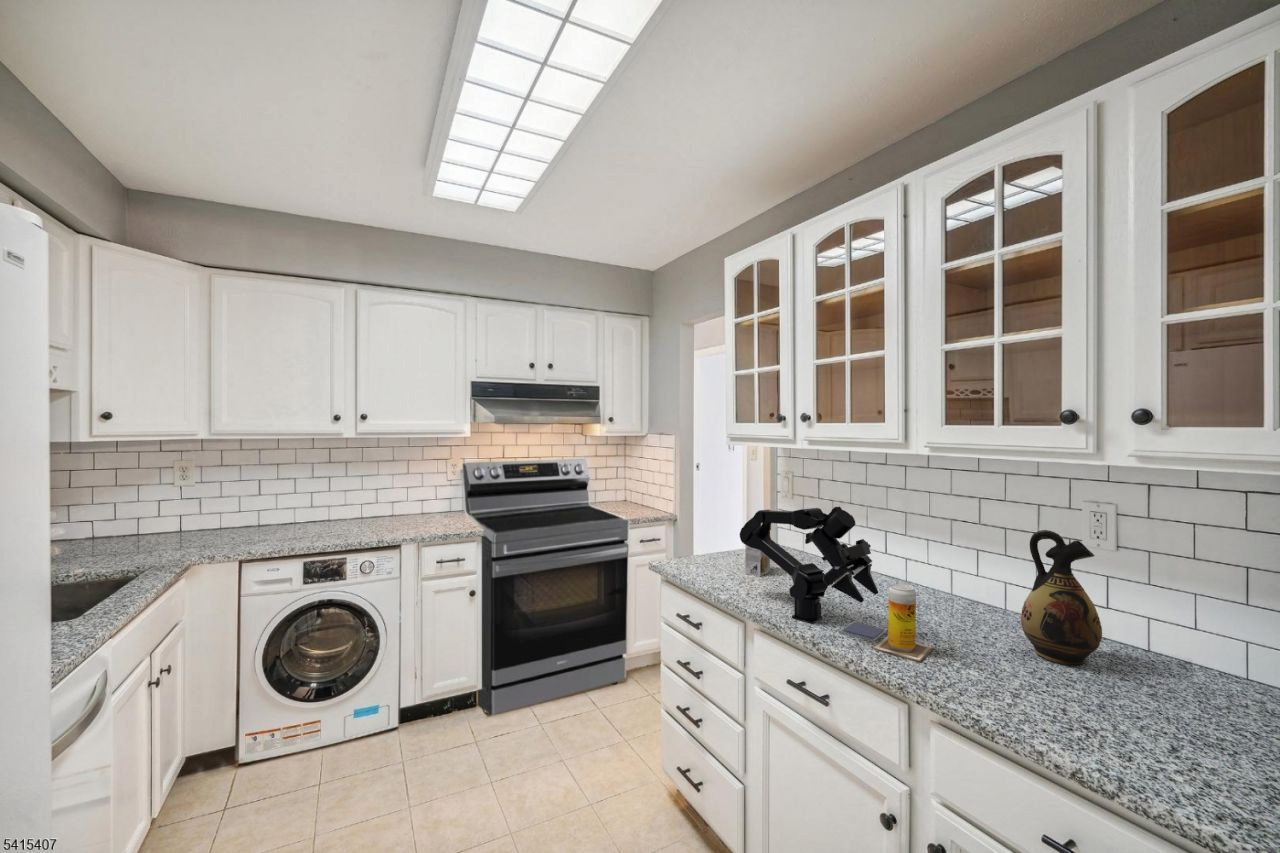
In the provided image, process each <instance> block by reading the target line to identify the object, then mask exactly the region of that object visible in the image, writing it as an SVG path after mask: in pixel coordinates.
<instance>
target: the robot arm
mask: <svg viewBox="0 0 1280 853" xmlns="http://www.w3.org/2000/svg"><path fill="white" fill-rule="evenodd" d="M772 524H778V525H779V524H781V525H791V526H793V527H795V528H797V529H799V530H800V529H801V530H803V531H806V530H813V529H814V530H813V531H812V532H811V531H810V532H808V533H805V542H804V543H805V544H806V545H808V544H810V543H813V545H814V546H815V547H816V548H817V549H818V551H819V552H820V553H821V555H822V557H821V559H822V561H823V562H826V561H827V562H828V564H829V565H830V566H831V569H829V570H828V571H826V573H824V570H823V569H821V568H819V567H818V565H817V564H815V563H813V562H810V563H805V564H803V563H802V562H800V561H799V560H798V559H797V558H795V557H794V556H793V555H791V553H789V552H788V551H787V550H785V549H784V548H783V547H781V545H779V544H778V543H777V542H775V541H774V540H773V539H772V537H771V530H772ZM855 526H856V520H855V518H854V517H853V515H852V514H850V513H849V512H848V511H846V510H843V509H842V507H841V506H834V507H833V508H832V510H831V511H830V512H829V513H828V514H827V513H825V512H823V511H822V509H821V508H819V507H812V508H801V509H797V510H793V511H792V510H772V509H771V510H770V509H761V510H758V511H756V512H755V514H754V515H753V517H751V518H749V520H747V522H746V523H744V525H743V526H742V527H741V528H740V531H739V539H740V541H741V543H742V544H744V545H747V546H749V547H751V548H754V549H758V550H760V551H762V552H763V553H764V554H765V555H766V556H768V557H769V558H770V561H773V562H774V563H775V564H776V565H777V566H778V567H779V568H781V569H782V570H783V571H785V573H787V574H788V575H789V576H790V577H791V578H792V579H791V580H792V583H793V585H791V587H790V588H788V591H789V595H790V597H791V598H794V605H793V606H794V607H793V608H794V611H793V612H794V614H792V615H791V619H794V620H799V621H802V622H807V623H811V624H815V622H818V621H819V620H821V619H823V615H822V603H821V598H822V597H824V595H825V593H826V591H827V590H828V587H831V588H832V589H836V590H837V591H839V592H841V593H843V594H844V595H846V596H848V597H849V598H852V599H853V600H856V601H857V602H859V603H863V602H865V599H864V597H863V596H862V593H861V592H860V591H859V589H858V588H857V586H856V585H855V583H854V581H853V580H855V581H857V583H859V584H860V585H862V587H863V588H865V589H866V590H868V591H869V592H870V593H871V594H873V595H874V596H876V595H877V594H879V591H878V588H877V585H876V583H875V581H874V579H873V576H872V573H871V569H872V566H873V563H872V562H873V560H872V559H871V557H870V556H869V555H871V554H872V552H871V544H870V543H868V541H866V540H865V539H864V538H861V539H858V540H855V544H854V545H852V546H851V545H850V546H848V545H847V544H846V543H841V542H840V541H839V540H838V539H842V538H843V537H844V536H845V535H846V534H847V533H849V531H851V530H852V529H853V528H854V527H855ZM769 532H770V533H769ZM820 597H821V598H820Z"/></svg>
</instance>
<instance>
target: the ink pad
mask: <svg viewBox="0 0 1280 853" xmlns="http://www.w3.org/2000/svg"><path fill="white" fill-rule="evenodd" d="M840 633H841V635H844V634H845V636H848V635H849V637H851V636H853V638H855V637H856V639H859V638H860V640H862V639H864V640H863V641H866V640H868V641H867V642H870V641H871V643H873V642H875V643H877V642H878V641H879V640H880V639H881V637H882V638H883V637H884V636H886V635H888V629H887V630H886V629H884V628H881V627H880V628H879V627H875V626H871V625H868V624H864V623H860V622H856V621H852V622H851V623H850V624H848V625H847V626H845V627H844V628H841V630H839V634H840ZM877 640H878V641H877Z"/></svg>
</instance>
